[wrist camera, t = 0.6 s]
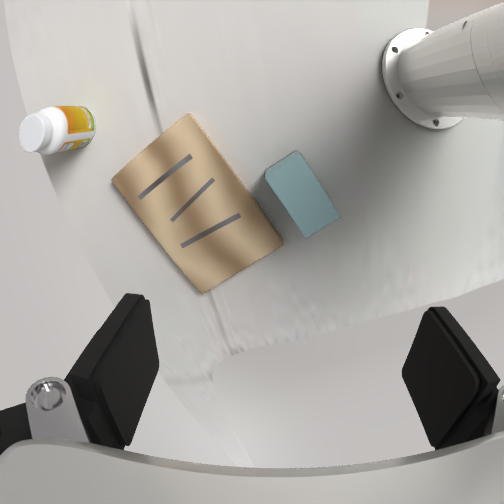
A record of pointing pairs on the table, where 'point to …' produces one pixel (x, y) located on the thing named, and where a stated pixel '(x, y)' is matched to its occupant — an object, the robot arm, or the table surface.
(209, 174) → the board
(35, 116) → the supplement bottle
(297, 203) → the block
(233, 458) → the table surface
